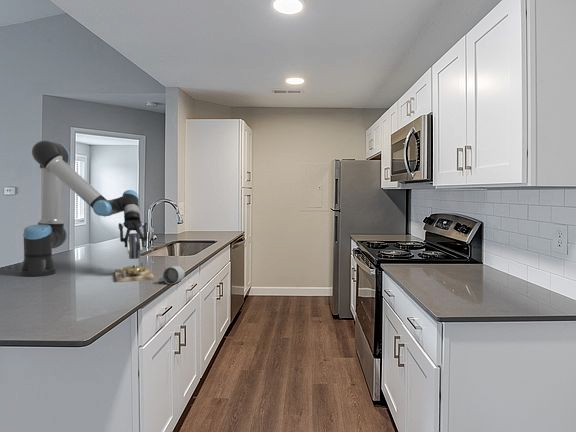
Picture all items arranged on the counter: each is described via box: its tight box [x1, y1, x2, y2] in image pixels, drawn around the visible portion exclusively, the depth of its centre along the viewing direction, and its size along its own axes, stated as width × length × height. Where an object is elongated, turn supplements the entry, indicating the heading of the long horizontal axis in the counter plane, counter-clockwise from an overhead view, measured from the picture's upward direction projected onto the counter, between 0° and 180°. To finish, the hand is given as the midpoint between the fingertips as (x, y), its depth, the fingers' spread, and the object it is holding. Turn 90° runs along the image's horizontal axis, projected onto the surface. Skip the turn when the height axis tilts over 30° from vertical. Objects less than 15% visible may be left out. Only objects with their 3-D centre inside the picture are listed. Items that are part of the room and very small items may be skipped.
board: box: [114, 262, 155, 283], centre depth 205 cm, size 16×25×4 cm, turn 24°
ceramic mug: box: [158, 265, 186, 285], centre depth 191 cm, size 11×8×8 cm
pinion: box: [128, 232, 141, 260], centre depth 206 cm, size 5×5×12 cm
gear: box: [122, 264, 147, 276], centre depth 199 cm, size 10×10×5 cm
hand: (135, 251), depth 203 cm, fingers closed on pinion, 5 cm apart
